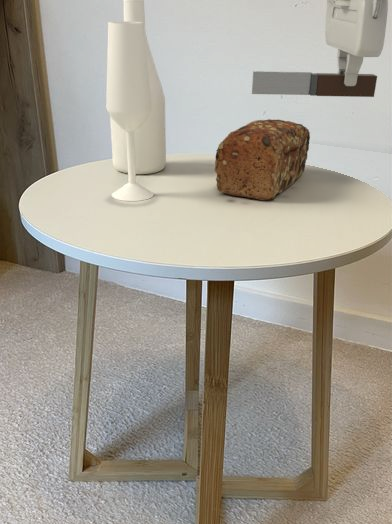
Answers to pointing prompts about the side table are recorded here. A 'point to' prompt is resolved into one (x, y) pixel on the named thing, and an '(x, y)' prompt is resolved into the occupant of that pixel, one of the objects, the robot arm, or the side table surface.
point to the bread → (261, 158)
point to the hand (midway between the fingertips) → (346, 83)
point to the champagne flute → (128, 94)
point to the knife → (311, 84)
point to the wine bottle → (153, 128)
